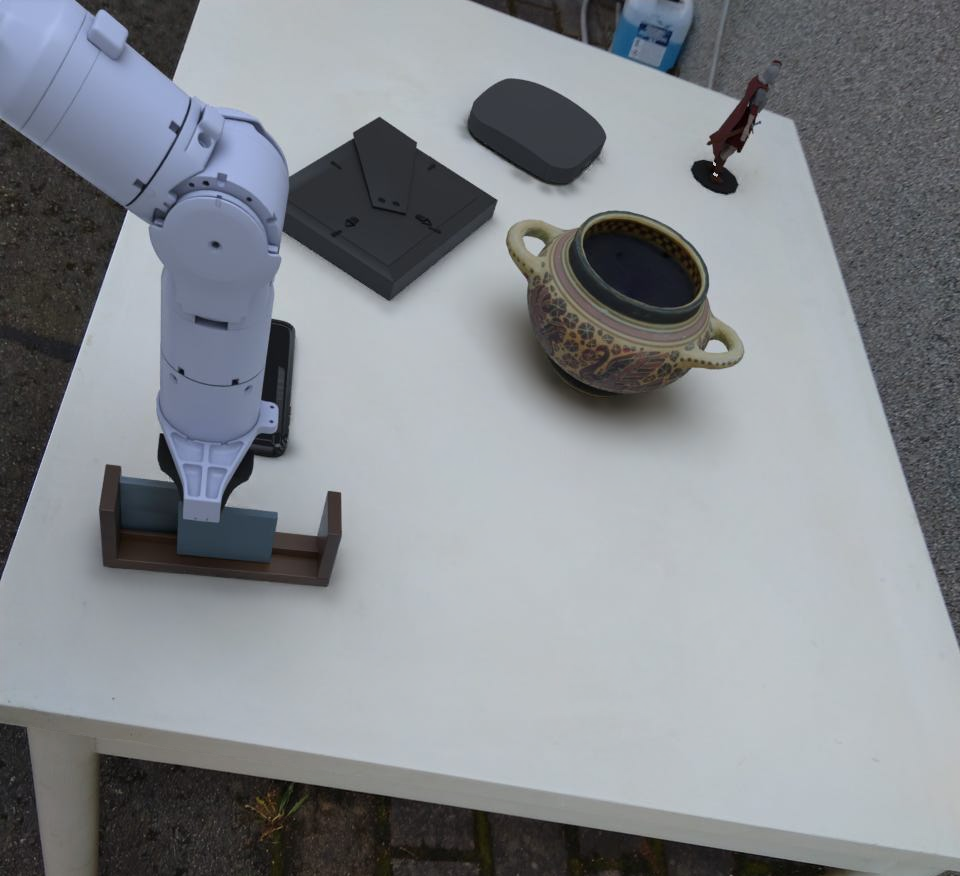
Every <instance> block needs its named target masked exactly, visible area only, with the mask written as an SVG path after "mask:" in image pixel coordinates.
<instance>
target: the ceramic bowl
mask: <svg viewBox="0 0 960 876" xmlns="http://www.w3.org/2000/svg"><path fill="white" fill-rule="evenodd" d="M525 237H530V238H534V239H538V240H539V241H542V243H543V244H544V247H543V248H542V249H541V250H540V251H539V253H538V254H537V256H536V255H534V254H533V253H532V252H530V251H529V250H528V249H527V247H526V245H525V241H524V238H525ZM505 245H506V247H507V251H508V254H509V257H510V258H511V260H512V262H513V263H514V265H515V266H516V267H517V269H518V270H519V271H520V273H521V274H522V275H523V277H524V278H525V279H526V281H527V288H526V303H527V304H526V305H527V311H528V316H529V320H530V323H531V327H532V329H533V331H534V334H535V335H536V338H537V340H538V341H539V343H540V344H541V346H542V348H543V349H544V351H545V355H546V359H547V361H548V363H549V365H550V367H551V368H552V369H553V371H554V372H555V373H556V375H557V376H558V377H559V378H560V379H561V380H562V381H563V382H564V383H565V384H567V385H568V386H570V387H571V388H573V389H574V390H576V391H578V392H581V393H583V394H586V395H589V396H590V397H598V398H613V397H617V396H621V395H624V394H642V393H646V392H653V391H656V390H659V389H662V388H665V387H667V386H669V385H671V384H674V383H675V382H676V381H679V379H681V378H682V377H683V376H685V375H686V374H687V373H689V371H690V370H692V369H705V370H710V371H711V370H714V371H715V370H723V369H728V368H732V367H734V366H736V365H738V364H739V363H740V362H741V361H742V360H743V359H744V355H745V347H744V342H743V341H742V340H741V338H740V336H739V334H738V333H737V331H736V330H735V329H734V328H732V327H731V326H730V325H728V324H727V323H725V322H723V321H722V320H721V319H719V318H718V317H717V316H715V315H714V313H713V312H712V310H711V305H710V301H709V298H708V293H709V289H710V274H709V270H708V267H707V265H706V262H705V261H704V259H703V257H702V255H701V254H700V252H699V251H698V250H697V248H696V247H695V246H694V245H693V244H692V243H691V242H690V241H689V240H688V239H686V238H685V237H684V236H683V235H682V234H681V233H679V232H678V231H677V230H675V229H674V228H673V227H671V226H670V225H667V224H665V223H663V222H661V221H660V220H657V219H655V218H651V217H649V216H647V215H644V214H641V213H636V212H633V211H628V210H617V209H616V210H607V211H602V212H601V211H600V212H598V213H595V214H593V215H591V216H589V217H588V218H586V220H585V221H583V222H582V223H581V224H580V225H579V227H575V228H571V229H564V228H561V227H557V226H555V225H553V224H550V223H549V222H545V221H544V220H542V219H532V218H531V219H530V218H529V219H523V220H520V221H517V222H516V223H514V224H513V225H511V226H510V228H509V230H508V231H507V234H506V238H505ZM714 340H716V341H718V342H721V343H722V344H723V345H724V347H725V348H726V350H727V351H723V352H709V351H705V350H706V348H707V346H708V344H709V342H710V341H714Z"/></svg>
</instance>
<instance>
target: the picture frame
mask: <svg viewBox="0 0 960 876" xmlns="http://www.w3.org/2000/svg"><path fill="white" fill-rule="evenodd" d="M352 136H353V138H351V139H350V140H348V141H347V142H344V143H343V144H341V145H339V146H338V147H336V148H334V149H333V150H331V151H330V152H328V153H326V154H325V155H323V156H321V157H320V158H317V159H316V160H314V161H313V162H311V163H310V164H308V165H306V166H304V167H303V168H301V169H300V170H298V171H296V172H294V173H293V174H291V175H289V193H288V199H287V205H286V212H285V218H284V224H283V231H282V232H284V233H285V234H287V235H288V236H290V237H292V238H293V239H295V240H296V241H298V242H299V243H301V244H302V245H304V246H305V247H307V248H309V249H310V250H311V251H313V252H315V253H316V254H318V255H319V256H321V257H322V258H324V259H325V260H326V261H328V262H330V263H331V264H333V265H334V266H336V267H338V268H339V269H341V270H342V271H343V272H345V273H346V274H348V275H349V276H351V277H353V278H354V279H356V280H357V281H359V282H360V283H362V284H364V285H365V286H366V287H368V288H370V289H371V290H372V291H374V292H376V293H377V294H378V295H380V296H381V297H383V298H385V299H386V300H387V301H391V300H392V299H393V298H394V297H396V296H397V295H398V294H399V293H400V292H402V291H403V290H404V289H405V288H407V287H408V286H410V284H412V283H413V282H414V281H415V280H417V278H420V276H421V275H423V274H424V273H425V272H427V271H428V270H429V269H430V268H431V267H433V266H434V265H435V264H436V263H437V262H439V261H440V260H441V259H443V257H445V256H446V255H447V254H448V253H450V252H451V251H452V250H454V249H455V248H456V247H457V246H459V244H461V243H462V242H463V241H465V240H466V239H467V238H468V237H470V235H472V234H473V233H474V232H476V231H477V230H478V229H479V228H481V227H482V226H483V225H485V224H486V223H487V222H488V221H489V220H490V219H492V218H493V216H494V213H495V210H496V207H497V205H498V201H499V200H498V199H497V198H496V197H494V196H492V195H491V194H489V193H488V192H486V191H484V190H483V189H482V188H480V187H478V186H477V185H475V184H473V183H472V182H470V181H469V180H467V179H465V178H464V177H463V176H461V175H460V174H458V173H457V172H456V171H453V170H452V169H450V168H449V167H447V166H446V165H444V164H443V163H441V162H440V161H438V160H436V159H435V158H434V157H432V156H430V155H429V154H427V153H426V152H424V151H422V150H421V149H419V148H418V142H417V141H416V140H414V139H413V138H411V137H410V136H409V135H407V134H406V133H405V132H403V131H401V130H400V129H399V128H397V127H396V126H394V125H392V124H391V123H390V122H388V121H387V120H385V118H382V117H381V116H378V117H376V118H375V119H373V120H371V121H370V122H368V123H366V124H364V125H363V126H361V127H360V128H357V129H356V130H355V131H353V132H352Z"/></svg>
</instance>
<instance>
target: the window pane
mask: <svg viewBox="0 0 960 876" xmlns="http://www.w3.org/2000/svg"><path fill="white" fill-rule="evenodd" d="M278 516H279V513H278V511H270V510H262V509H253V508H244V507H234V506H226V505H225V507H224V509H223V511H222V512H221V514H220V518H219V522H218V523H216V522H208V520H207V522H204V521H195V520H188V519H183V504H182V501H179V506H178V532H177V554H181V555H192V556H202V557H213V558H223V559H234V560H244V561H254V562H265V563H270V559H271V554H272V548H273V542H274V536H275V532H277V531H276V530H277V525H278V519H279V518H278Z"/></svg>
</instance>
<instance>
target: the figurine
mask: <svg viewBox="0 0 960 876" xmlns="http://www.w3.org/2000/svg"><path fill="white" fill-rule="evenodd" d="M782 67H783V63H782V62H781V60H779V59H774V60H773V61H772V62H771V64H770V65H768V66H767V67H766V70H765V71H764V73H763V74H762V73H761V74H757V75H755V76H753V77H752V78H751V80H749V82H748V83H747V86H746V90H745V92H744V96H743V97H742V99H741V100H740V101H739V102H738V104H736V106H735V107H734V109H733V110H732V111H731V113H729V116H728V117H727V118H726V119H725V120H724V122H723V123H722V125H720V127H719V128H718V130H716V131H715V132H713V133H711V134H710V135H709V136H708V138H709V140H707V142H706V144H705V145H706V146H711V147H712V154H713V157H714V158H713V161H714V162H715V163H716V166H714V165H713V161H712V160H707V159H699V160H695V161H694V162H693V163H692V165H691V168H690V171H691V173H692V176H693V178H694V179H695V180H696V181H697V182H698V183H699V184H700V185H701V186H702V187H704V188H706V189H708V190H710V191H712V192H713V193H716V194H721V195H727V196H728V195H731V194H734V193H736V192H737V189H738V187H739V183H738V180H737V178H736V176H735V175H734V174H733V173H732V171H730V170H729V169H728V168H727V167H725V165H726V163H727V160H728V159H729V157H731V156H733V155H734V154H735V152H736V153H737V154H741V152H742V151H743V149H744V147H745V145H746V143H747V141H748V139H750V135H754V133H755V132H754V127H755V126H758V125H761V124H762V121H761V120H758V121H756V120H757V117H758V115H759V114H760V113H761V112H762V111H763V110H764V108H765V107H766V105H767V104H768V101H769V99H770V98H771V89H770V87H773V86H774V85H775V83H776V79H777V78H778V77H779V75H780V73H781V71H780V70H781V69H782ZM769 86H770V87H769ZM714 172H715V173H716V174H718V176H717V177H716V176H714V175H713V173H714Z"/></svg>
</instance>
